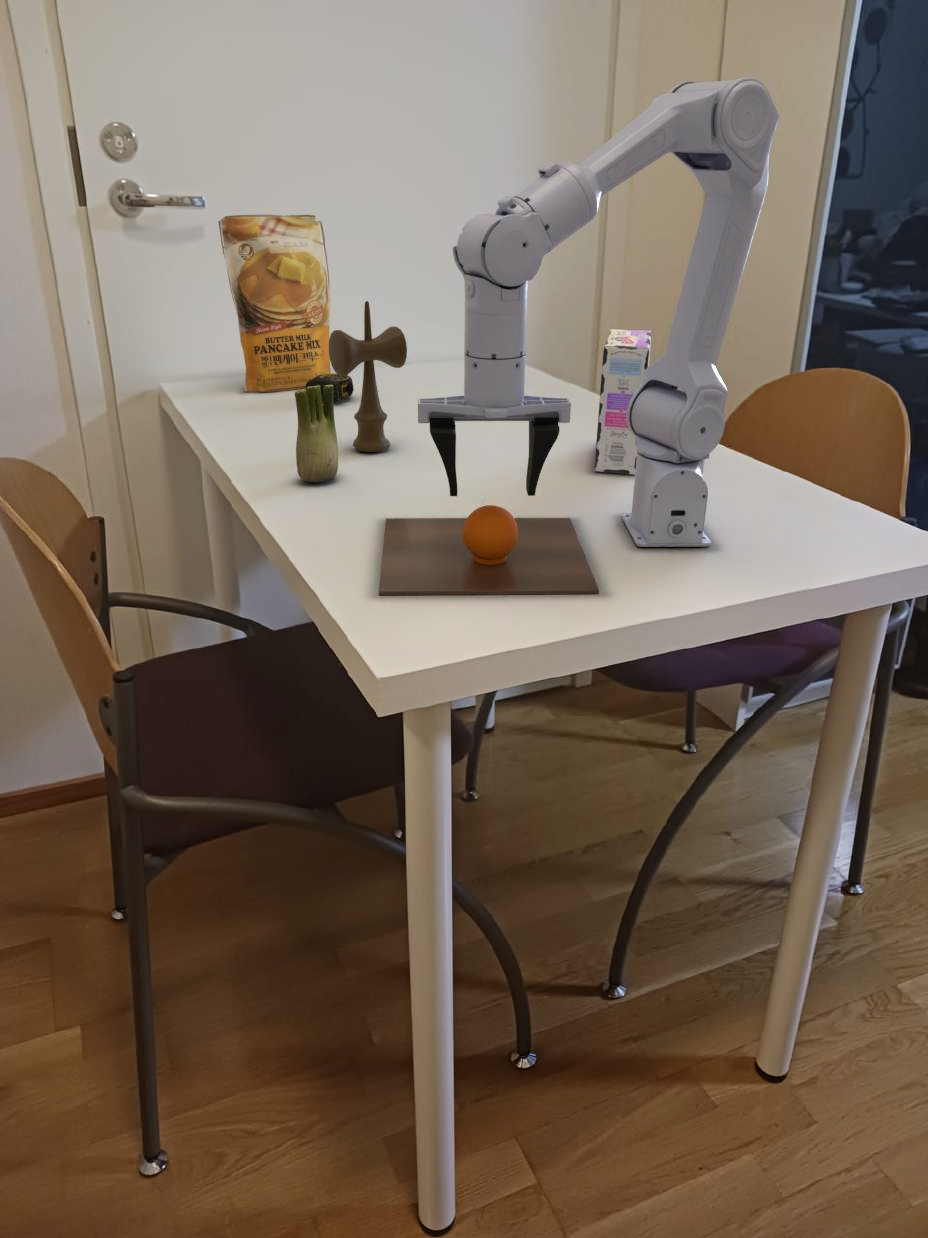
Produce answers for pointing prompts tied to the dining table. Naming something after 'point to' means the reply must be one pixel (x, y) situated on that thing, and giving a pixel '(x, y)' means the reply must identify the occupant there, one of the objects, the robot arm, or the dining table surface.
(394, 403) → the dining table surface
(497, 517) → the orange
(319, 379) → the tape measure
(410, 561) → the front mat
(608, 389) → the candy box
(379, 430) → the kendama
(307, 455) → the fennel bulb
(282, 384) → the pancake mix bag
